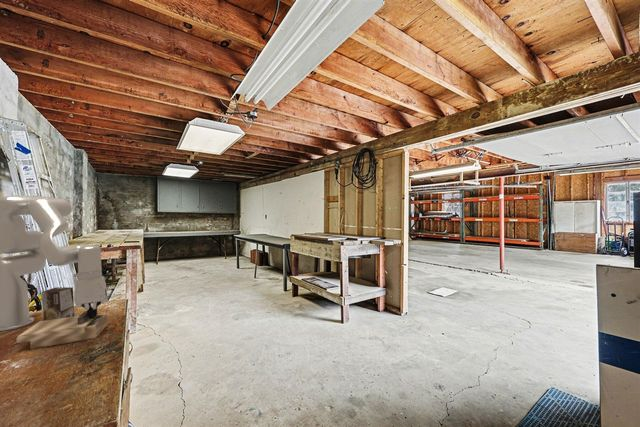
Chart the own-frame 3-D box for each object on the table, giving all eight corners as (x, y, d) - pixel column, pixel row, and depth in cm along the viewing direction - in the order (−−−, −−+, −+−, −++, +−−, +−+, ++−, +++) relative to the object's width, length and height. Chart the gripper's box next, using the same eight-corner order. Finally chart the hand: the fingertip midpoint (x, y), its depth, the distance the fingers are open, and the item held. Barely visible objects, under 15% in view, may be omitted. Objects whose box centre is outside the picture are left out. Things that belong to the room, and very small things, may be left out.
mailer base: (30, 348, 103) (29, 335, 103) (50, 332, 116) (50, 321, 116) (95, 338, 111) (94, 326, 110) (107, 324, 124) (107, 313, 123)
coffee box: (75, 321, 128) (73, 287, 127) (61, 327, 122) (59, 291, 121) (58, 320, 129) (56, 286, 128) (43, 326, 122) (41, 291, 122)
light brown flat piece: (16, 342, 101) (16, 329, 101) (41, 325, 116) (40, 314, 116) (84, 332, 109) (83, 320, 108) (99, 317, 123) (98, 306, 123)
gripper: (63, 279, 109) (65, 324, 110) (108, 275, 115) (110, 318, 115) (72, 274, 116) (74, 317, 117) (114, 271, 121) (116, 311, 122)
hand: (92, 317), depth 116 cm, fingers closed
